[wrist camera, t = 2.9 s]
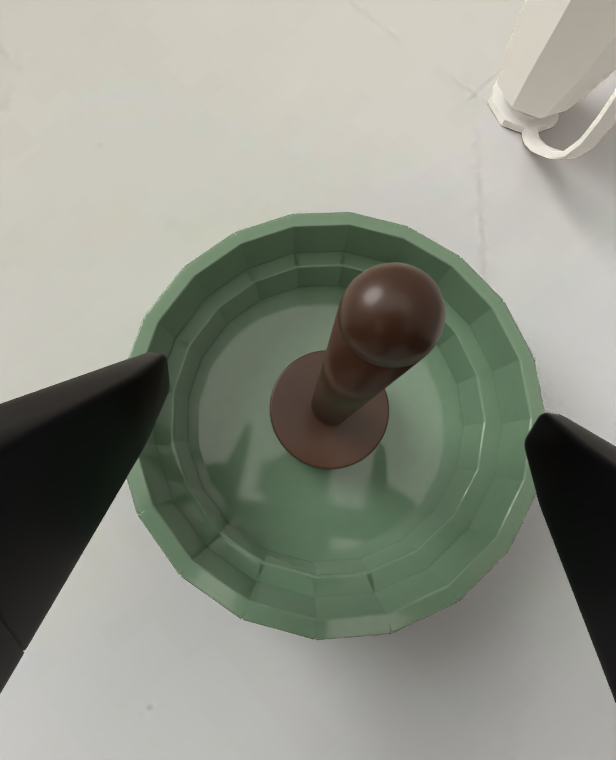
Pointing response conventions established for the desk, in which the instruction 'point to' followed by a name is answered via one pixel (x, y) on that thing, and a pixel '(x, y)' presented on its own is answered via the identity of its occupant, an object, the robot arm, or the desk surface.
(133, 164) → the desk surface
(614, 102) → the cup
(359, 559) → the bowl
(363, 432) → the knob-topped peg stand
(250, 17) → the desk surface
